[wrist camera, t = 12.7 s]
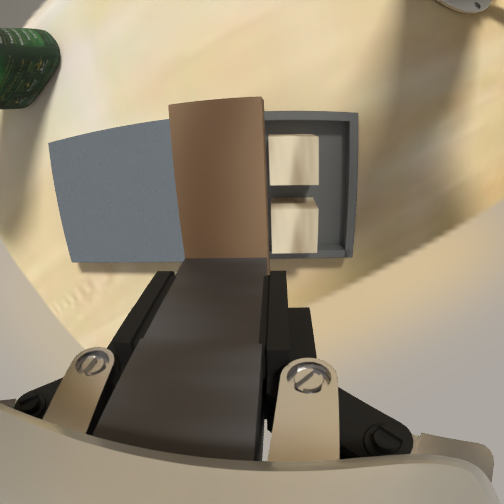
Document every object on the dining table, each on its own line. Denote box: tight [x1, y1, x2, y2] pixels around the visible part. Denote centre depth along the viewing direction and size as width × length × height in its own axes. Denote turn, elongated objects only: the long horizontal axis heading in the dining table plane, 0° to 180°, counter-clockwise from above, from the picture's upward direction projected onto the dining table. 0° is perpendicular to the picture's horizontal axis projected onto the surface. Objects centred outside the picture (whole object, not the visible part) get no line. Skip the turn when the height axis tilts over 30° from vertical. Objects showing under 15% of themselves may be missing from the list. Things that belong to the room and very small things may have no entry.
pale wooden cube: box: [271, 197, 319, 254], centre depth 29 cm, size 4×4×4 cm
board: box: [48, 119, 185, 262], centre depth 30 cm, size 20×14×2 cm
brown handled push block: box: [92, 97, 270, 461], centre depth 9 cm, size 3×14×12 cm, turn 3°
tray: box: [264, 111, 358, 259], centre depth 29 cm, size 11×14×2 cm
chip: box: [268, 134, 319, 185], centre depth 26 cm, size 4×4×4 cm
